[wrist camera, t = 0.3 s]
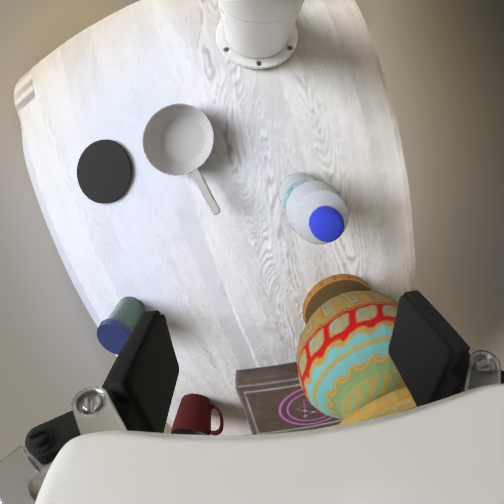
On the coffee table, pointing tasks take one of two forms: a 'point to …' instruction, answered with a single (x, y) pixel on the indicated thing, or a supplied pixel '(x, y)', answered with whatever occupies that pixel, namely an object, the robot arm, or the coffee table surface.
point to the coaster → (104, 171)
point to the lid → (113, 334)
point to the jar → (128, 311)
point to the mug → (195, 416)
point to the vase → (350, 352)
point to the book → (278, 401)
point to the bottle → (313, 208)
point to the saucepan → (180, 144)
